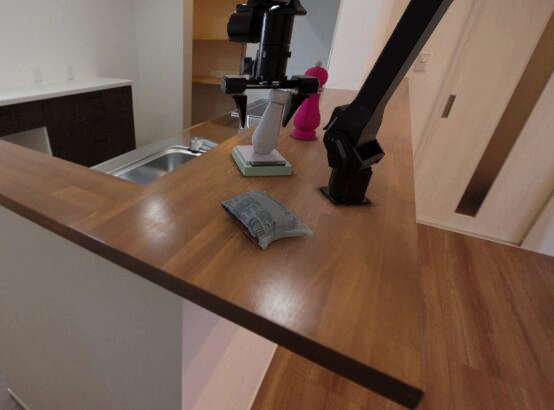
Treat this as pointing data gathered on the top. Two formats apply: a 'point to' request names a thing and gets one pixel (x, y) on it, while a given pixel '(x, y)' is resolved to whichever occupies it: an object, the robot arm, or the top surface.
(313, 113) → the pepper mill
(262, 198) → the packaged food
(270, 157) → the scale
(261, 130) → the salt shaker
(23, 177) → the top surface
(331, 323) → the top surface
